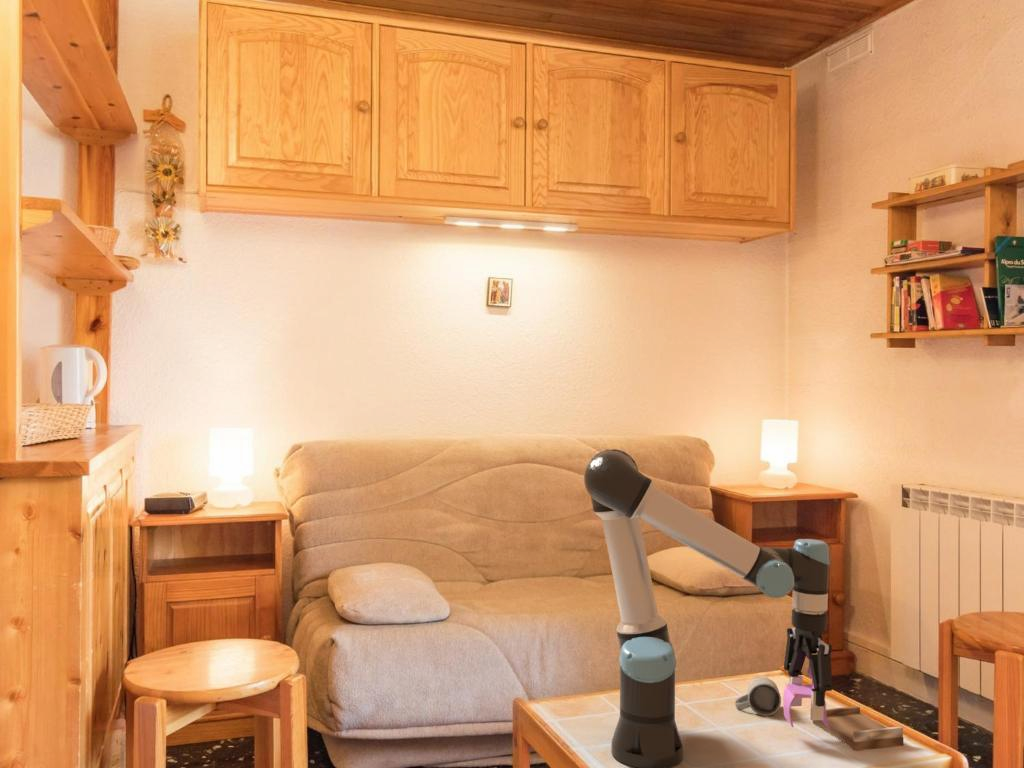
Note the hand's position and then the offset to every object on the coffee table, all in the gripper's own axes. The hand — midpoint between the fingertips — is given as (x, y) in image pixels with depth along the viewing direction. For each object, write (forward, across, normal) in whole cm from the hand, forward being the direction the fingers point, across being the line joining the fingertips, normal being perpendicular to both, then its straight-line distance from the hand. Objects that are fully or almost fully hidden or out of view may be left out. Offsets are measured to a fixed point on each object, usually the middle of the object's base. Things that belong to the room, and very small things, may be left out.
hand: (805, 712), depth 195 cm
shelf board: (+6, +1, -14) cm, 15 cm away
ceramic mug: (+7, +19, 0) cm, 20 cm away
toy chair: (+2, 0, 0) cm, 2 cm away
